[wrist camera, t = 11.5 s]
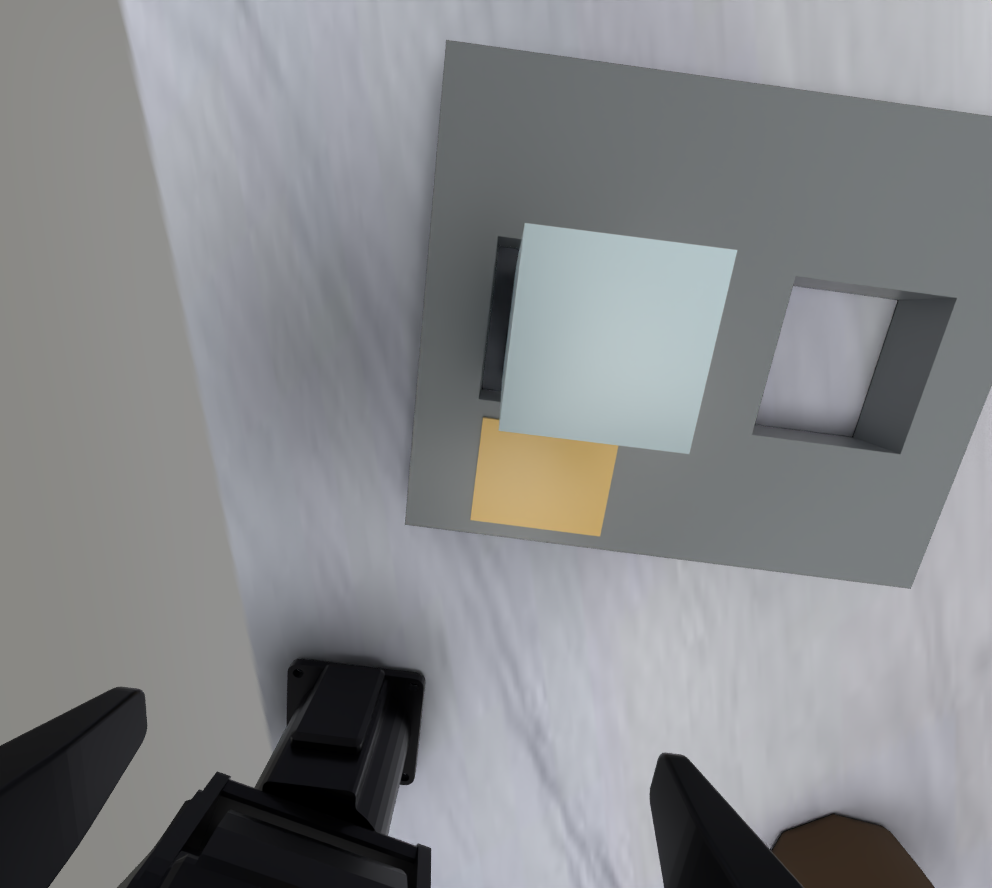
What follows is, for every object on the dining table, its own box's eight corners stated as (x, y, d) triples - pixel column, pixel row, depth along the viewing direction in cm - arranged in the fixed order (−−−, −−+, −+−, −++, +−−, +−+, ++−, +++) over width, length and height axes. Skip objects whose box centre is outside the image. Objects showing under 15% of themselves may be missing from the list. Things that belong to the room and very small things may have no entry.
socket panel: (865, 557, 21) (914, 591, 19) (416, 500, 21) (403, 526, 19) (1010, 156, 17) (1100, 128, 15) (454, 79, 17) (445, 36, 14)
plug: (599, 385, 20) (689, 454, 10) (502, 373, 20) (498, 430, 10) (618, 282, 19) (736, 250, 9) (515, 270, 19) (525, 222, 9)
